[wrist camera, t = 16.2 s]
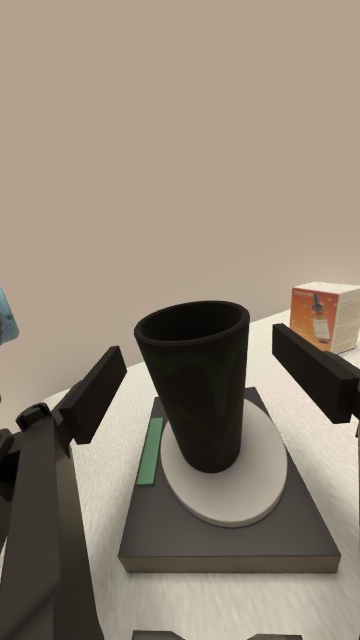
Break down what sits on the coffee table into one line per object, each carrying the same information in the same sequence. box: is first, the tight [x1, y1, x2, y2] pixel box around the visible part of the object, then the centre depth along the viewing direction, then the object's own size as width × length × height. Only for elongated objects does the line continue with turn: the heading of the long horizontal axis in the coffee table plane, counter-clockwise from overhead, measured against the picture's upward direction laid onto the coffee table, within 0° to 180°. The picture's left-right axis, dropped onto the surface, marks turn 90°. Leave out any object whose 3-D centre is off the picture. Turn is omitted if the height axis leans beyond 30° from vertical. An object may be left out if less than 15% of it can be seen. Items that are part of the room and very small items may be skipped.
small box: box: [290, 282, 360, 354], centre depth 30 cm, size 8×6×10 cm
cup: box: [134, 301, 250, 473], centre depth 14 cm, size 8×8×12 cm
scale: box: [118, 387, 341, 573], centre depth 16 cm, size 13×13×3 cm
